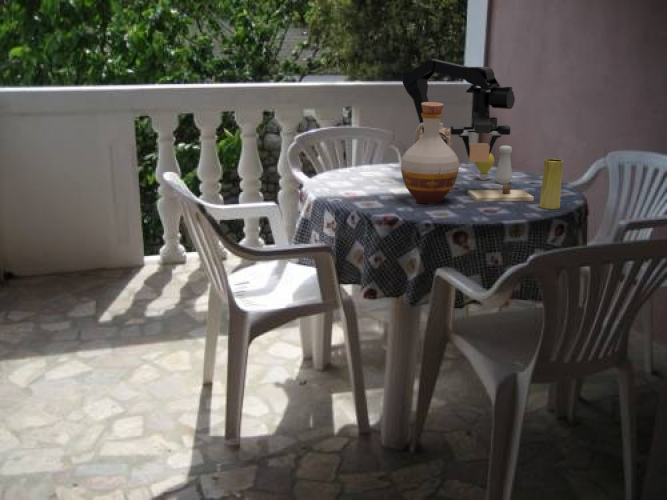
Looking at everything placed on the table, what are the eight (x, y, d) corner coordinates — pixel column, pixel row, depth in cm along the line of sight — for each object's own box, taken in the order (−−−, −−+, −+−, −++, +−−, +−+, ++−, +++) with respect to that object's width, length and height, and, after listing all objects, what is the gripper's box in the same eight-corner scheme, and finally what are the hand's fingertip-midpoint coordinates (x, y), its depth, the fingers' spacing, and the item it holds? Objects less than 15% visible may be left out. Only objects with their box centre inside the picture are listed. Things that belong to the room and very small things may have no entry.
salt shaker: (511, 185, 246) (514, 147, 242) (494, 184, 247) (497, 147, 243) (511, 181, 251) (514, 145, 247) (494, 181, 252) (497, 144, 249)
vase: (536, 204, 218) (540, 158, 214) (557, 204, 218) (561, 158, 214) (541, 209, 212) (546, 161, 208) (562, 209, 212) (567, 161, 208)
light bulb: (497, 179, 255) (499, 152, 252) (483, 181, 251) (485, 153, 248) (483, 176, 260) (485, 149, 257) (470, 178, 256) (471, 151, 253)
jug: (388, 195, 229) (390, 100, 221) (437, 191, 236) (441, 99, 227) (415, 209, 212) (419, 106, 203) (468, 204, 218) (474, 104, 209)
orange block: (469, 161, 230) (470, 145, 228) (467, 158, 236) (468, 143, 234) (489, 161, 229) (489, 145, 228) (486, 158, 235) (487, 143, 234)
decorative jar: (451, 168, 276) (453, 121, 270) (448, 174, 265) (451, 125, 260) (420, 167, 278) (422, 120, 273) (416, 172, 267) (418, 124, 262)
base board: (476, 201, 222) (477, 188, 220) (467, 193, 232) (468, 181, 231) (533, 200, 223) (534, 188, 222) (521, 193, 233) (522, 181, 232)
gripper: (453, 109, 221) (451, 160, 225) (514, 109, 219) (511, 160, 224) (450, 106, 231) (448, 154, 236) (508, 106, 230) (505, 154, 235)
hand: (478, 156), depth 232 cm, fingers closed on orange block, 6 cm apart
